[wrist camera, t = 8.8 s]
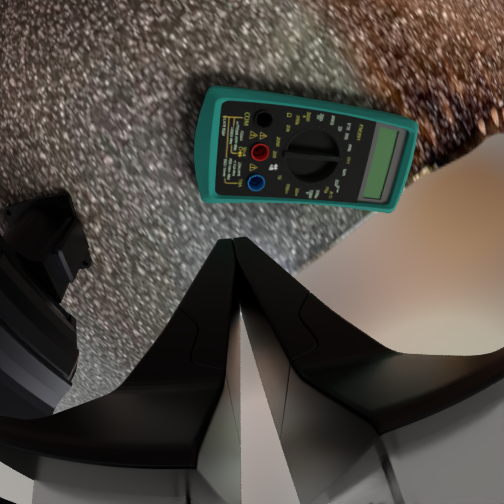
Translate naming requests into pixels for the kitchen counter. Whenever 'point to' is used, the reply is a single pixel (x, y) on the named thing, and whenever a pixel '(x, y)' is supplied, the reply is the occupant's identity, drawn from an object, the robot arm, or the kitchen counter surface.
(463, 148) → the kitchen counter surface
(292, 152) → the digital multimeter
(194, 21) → the kitchen counter surface
